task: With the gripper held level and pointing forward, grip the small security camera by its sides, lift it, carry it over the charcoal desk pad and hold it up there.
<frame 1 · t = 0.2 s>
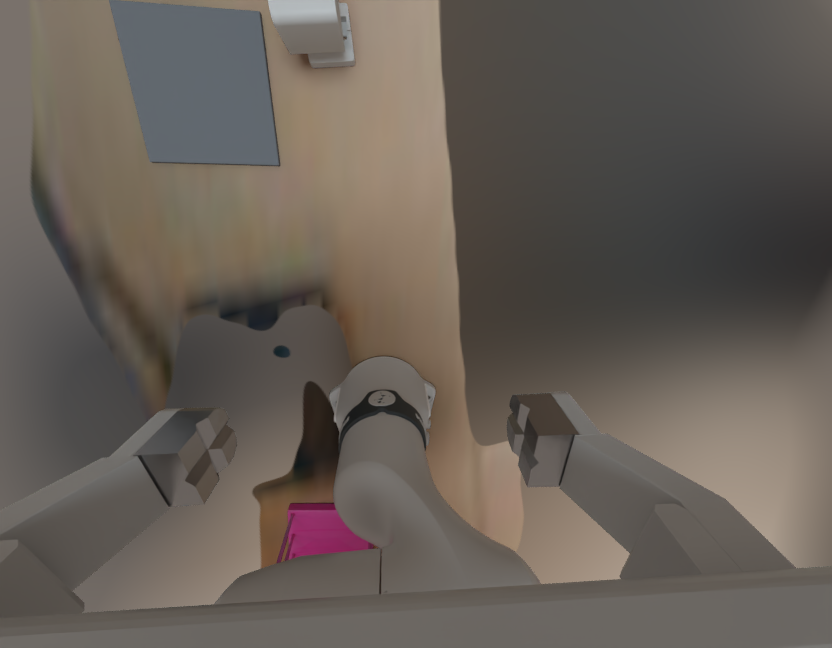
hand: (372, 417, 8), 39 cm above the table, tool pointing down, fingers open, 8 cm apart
security camera: (323, 41, 36), on the table
file sorter: (333, 544, 64), on the table
desk pad: (204, 92, 36), on the table
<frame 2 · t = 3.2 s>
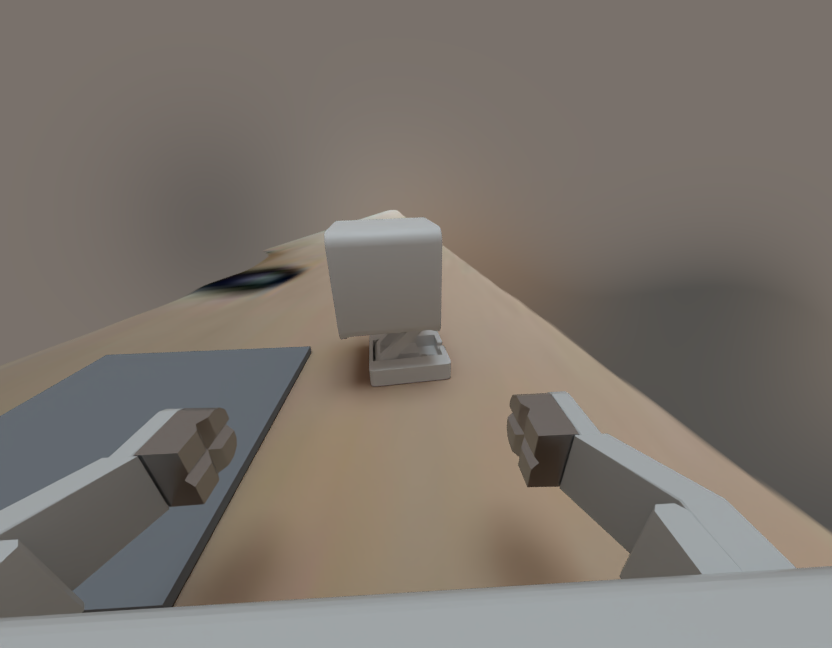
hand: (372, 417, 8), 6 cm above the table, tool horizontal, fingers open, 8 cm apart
security camera: (397, 364, 22), on the table
desk pad: (126, 432, 16), on the table
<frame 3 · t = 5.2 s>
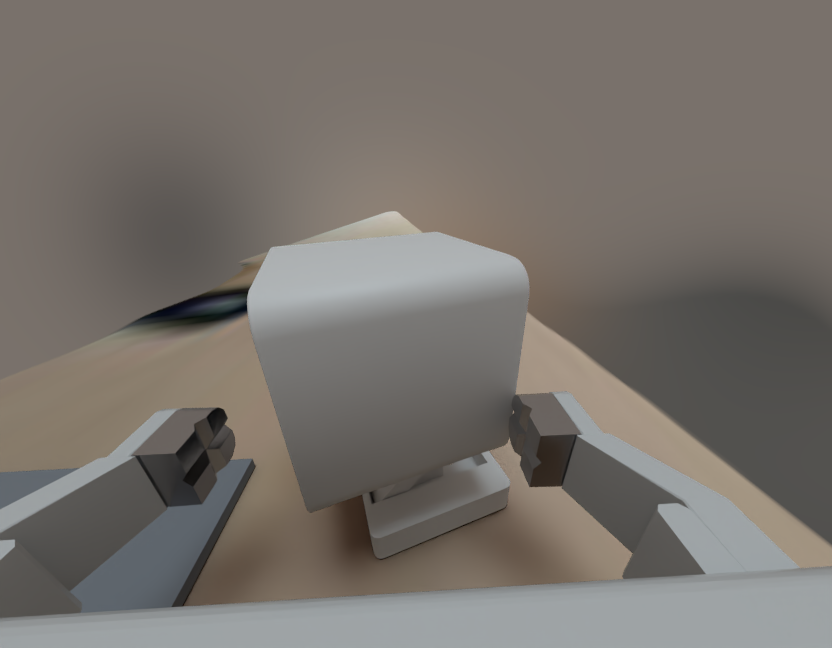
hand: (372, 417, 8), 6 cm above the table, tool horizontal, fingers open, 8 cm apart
security camera: (405, 479, 13), on the table, touching gripper
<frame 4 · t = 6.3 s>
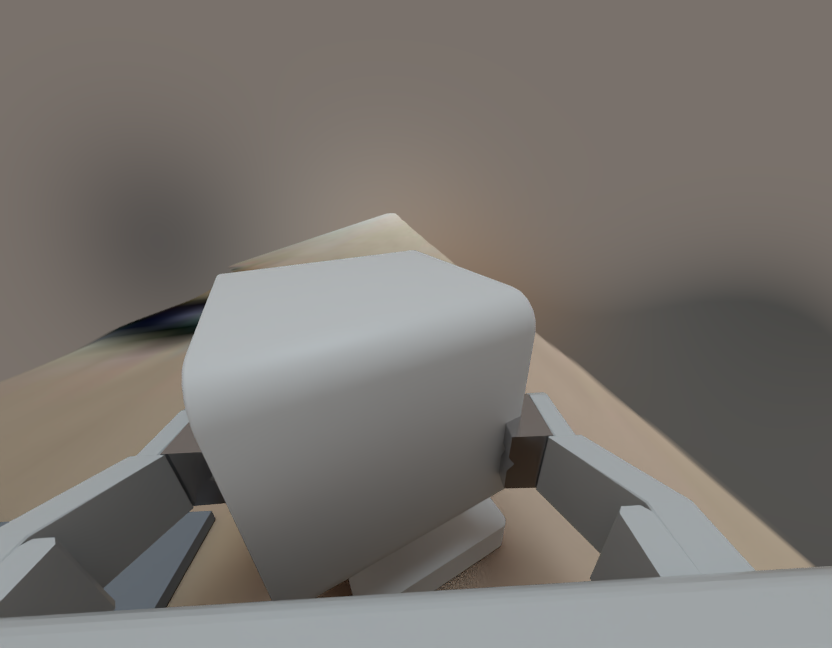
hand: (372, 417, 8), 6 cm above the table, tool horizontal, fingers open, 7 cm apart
security camera: (390, 524, 12), on the table, touching gripper
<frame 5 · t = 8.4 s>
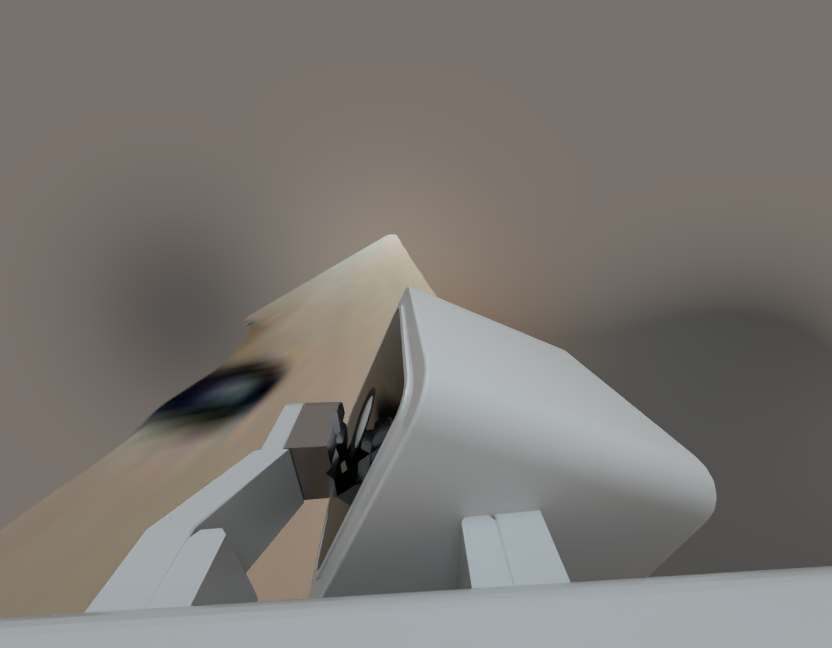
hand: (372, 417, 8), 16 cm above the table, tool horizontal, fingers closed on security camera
security camera: (387, 590, 11), point 9 cm above the table, touching gripper
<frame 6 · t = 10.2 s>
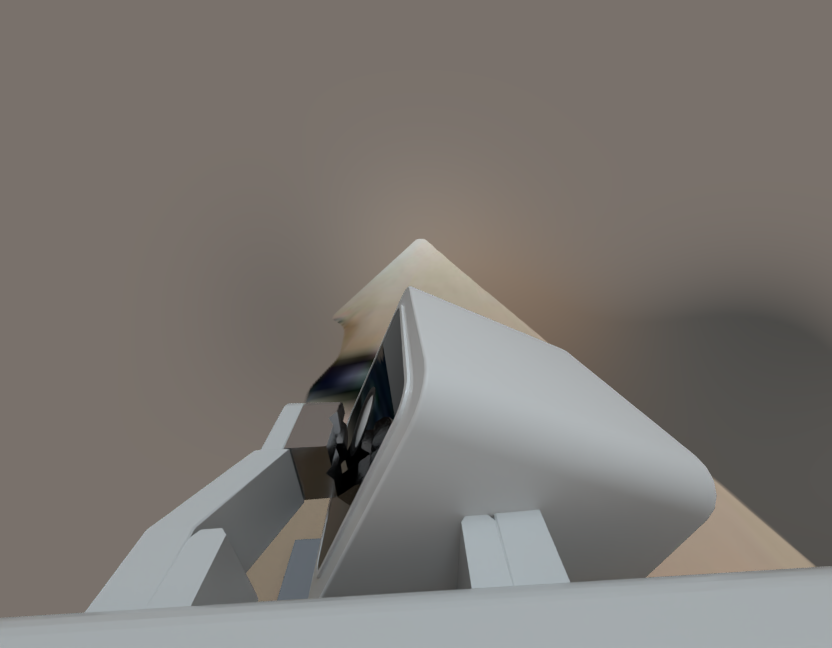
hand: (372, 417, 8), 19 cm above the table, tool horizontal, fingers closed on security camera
security camera: (388, 589, 11), point 12 cm above the table, touching gripper
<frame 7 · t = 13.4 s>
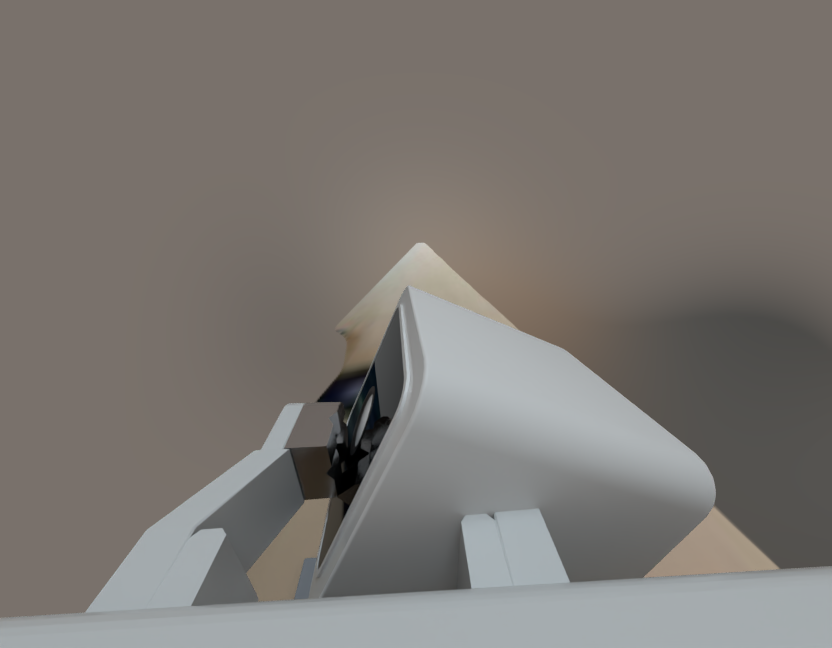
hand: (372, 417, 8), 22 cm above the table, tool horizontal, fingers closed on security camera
security camera: (388, 590, 11), point 15 cm above the table, touching gripper
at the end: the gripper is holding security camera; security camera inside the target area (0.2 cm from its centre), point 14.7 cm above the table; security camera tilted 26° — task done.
